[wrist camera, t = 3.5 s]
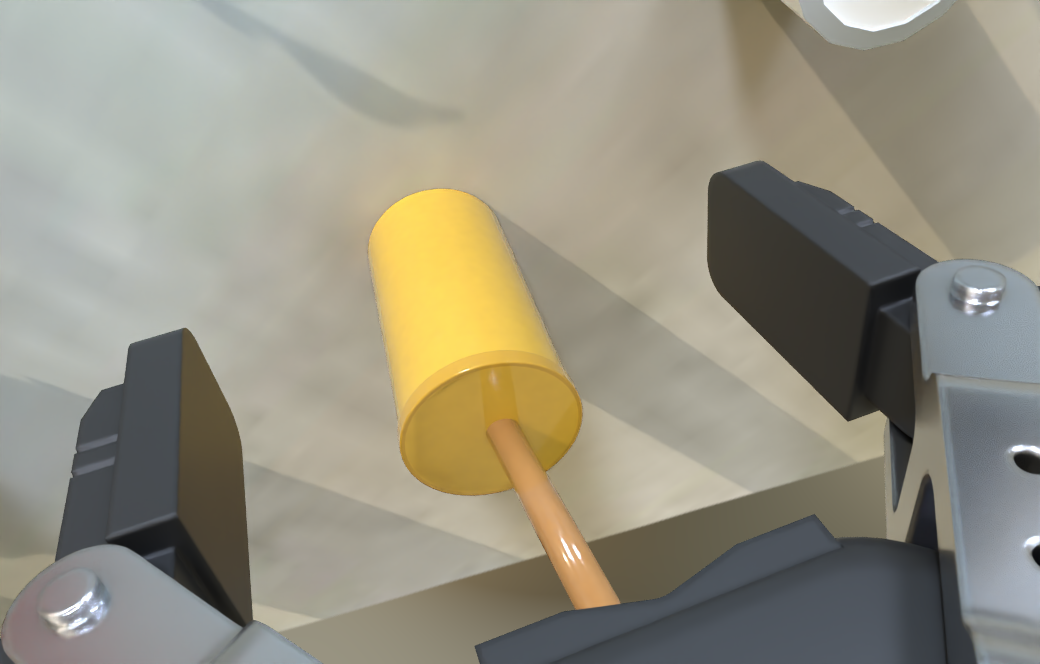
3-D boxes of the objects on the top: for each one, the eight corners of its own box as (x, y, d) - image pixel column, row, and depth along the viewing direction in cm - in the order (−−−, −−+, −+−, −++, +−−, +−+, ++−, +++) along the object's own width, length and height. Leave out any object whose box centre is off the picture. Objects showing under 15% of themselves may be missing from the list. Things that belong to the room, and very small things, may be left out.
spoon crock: (385, 321, 35) (490, 860, 19) (347, 207, 31) (437, 767, 15) (514, 285, 35) (723, 780, 19) (492, 169, 32) (731, 670, 15)
